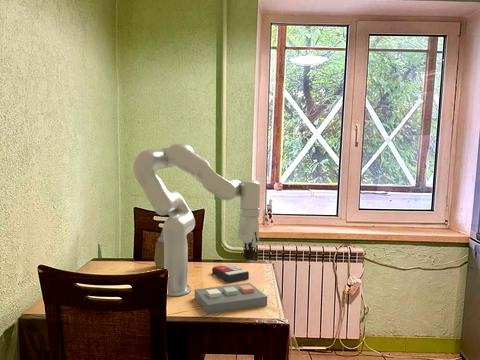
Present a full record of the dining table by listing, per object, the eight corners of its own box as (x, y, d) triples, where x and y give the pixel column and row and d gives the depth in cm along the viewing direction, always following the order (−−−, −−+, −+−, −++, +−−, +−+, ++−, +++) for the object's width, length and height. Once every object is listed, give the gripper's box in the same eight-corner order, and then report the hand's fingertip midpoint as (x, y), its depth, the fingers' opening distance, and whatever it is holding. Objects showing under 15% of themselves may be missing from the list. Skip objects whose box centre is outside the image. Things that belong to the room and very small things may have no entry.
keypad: (207, 314, 148) (208, 304, 148) (194, 298, 162) (194, 289, 162) (266, 305, 158) (267, 296, 157) (249, 290, 172) (249, 282, 172)
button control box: (231, 263, 199) (249, 270, 186) (231, 271, 199) (249, 279, 187) (211, 266, 193) (228, 274, 180) (211, 275, 193) (228, 283, 181)
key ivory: (209, 300, 154) (210, 294, 154) (206, 296, 158) (206, 290, 158) (220, 299, 156) (221, 292, 156) (216, 294, 160) (216, 288, 160)
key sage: (227, 298, 157) (227, 291, 157) (223, 294, 161) (223, 287, 161) (237, 296, 159) (237, 290, 158) (233, 292, 163) (233, 286, 162)
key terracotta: (243, 295, 160) (244, 289, 159) (239, 291, 164) (239, 285, 163) (254, 294, 162) (254, 288, 161) (249, 290, 166) (249, 284, 165)
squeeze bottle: (156, 264, 204) (156, 228, 202) (172, 265, 203) (172, 229, 202) (152, 269, 196) (152, 232, 194) (169, 270, 195) (169, 233, 194)
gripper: (233, 209, 165) (232, 254, 166) (249, 216, 151) (247, 265, 153) (250, 209, 168) (249, 252, 169) (267, 215, 154) (265, 263, 156)
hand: (248, 258), depth 161 cm, fingers closed
